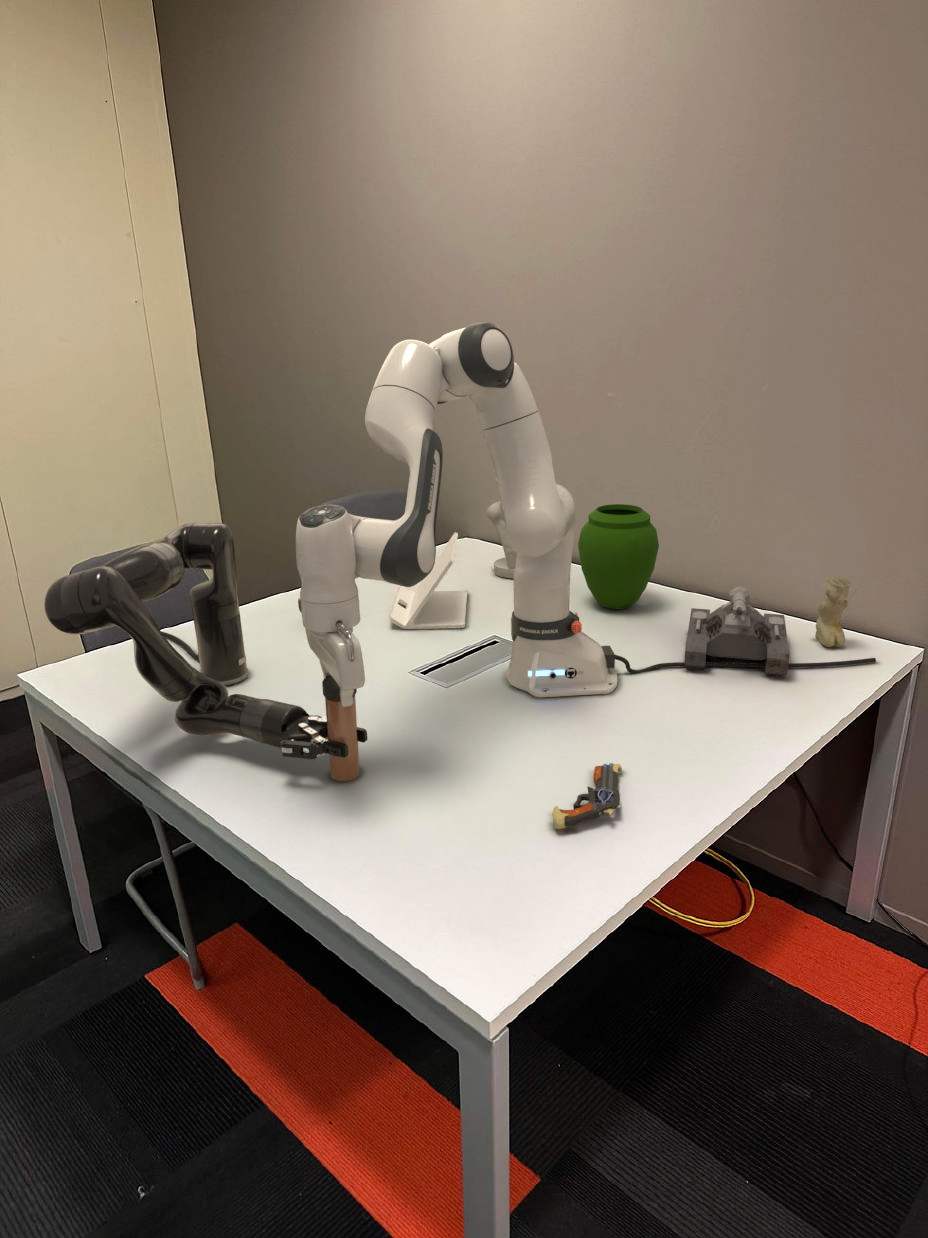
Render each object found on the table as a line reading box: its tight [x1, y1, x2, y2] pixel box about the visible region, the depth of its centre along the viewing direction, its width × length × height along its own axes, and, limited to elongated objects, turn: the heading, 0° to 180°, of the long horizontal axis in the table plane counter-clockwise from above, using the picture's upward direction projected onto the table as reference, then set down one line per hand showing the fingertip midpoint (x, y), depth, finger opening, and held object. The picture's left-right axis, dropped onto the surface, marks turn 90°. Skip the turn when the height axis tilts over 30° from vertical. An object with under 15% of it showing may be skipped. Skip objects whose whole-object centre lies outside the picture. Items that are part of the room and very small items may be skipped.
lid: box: [321, 676, 358, 700], centre depth 136 cm, size 5×5×2 cm
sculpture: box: [814, 576, 852, 648], centre depth 185 cm, size 6×7×15 cm
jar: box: [324, 694, 361, 782], centre depth 139 cm, size 5×5×16 cm
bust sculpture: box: [485, 471, 517, 579], centre depth 231 cm, size 16×24×35 cm
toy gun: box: [552, 762, 623, 830], centre depth 132 cm, size 3×19×10 cm
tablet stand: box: [388, 531, 468, 630], centre depth 211 cm, size 18×25×17 cm
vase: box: [577, 503, 660, 610], centre depth 210 cm, size 20×20×24 cm
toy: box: [683, 586, 791, 676], centre depth 181 cm, size 25×20×15 cm
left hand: (356, 743), depth 138 cm, fingers closed on jar, 5 cm apart
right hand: (338, 693), depth 136 cm, fingers open, 7 cm apart
